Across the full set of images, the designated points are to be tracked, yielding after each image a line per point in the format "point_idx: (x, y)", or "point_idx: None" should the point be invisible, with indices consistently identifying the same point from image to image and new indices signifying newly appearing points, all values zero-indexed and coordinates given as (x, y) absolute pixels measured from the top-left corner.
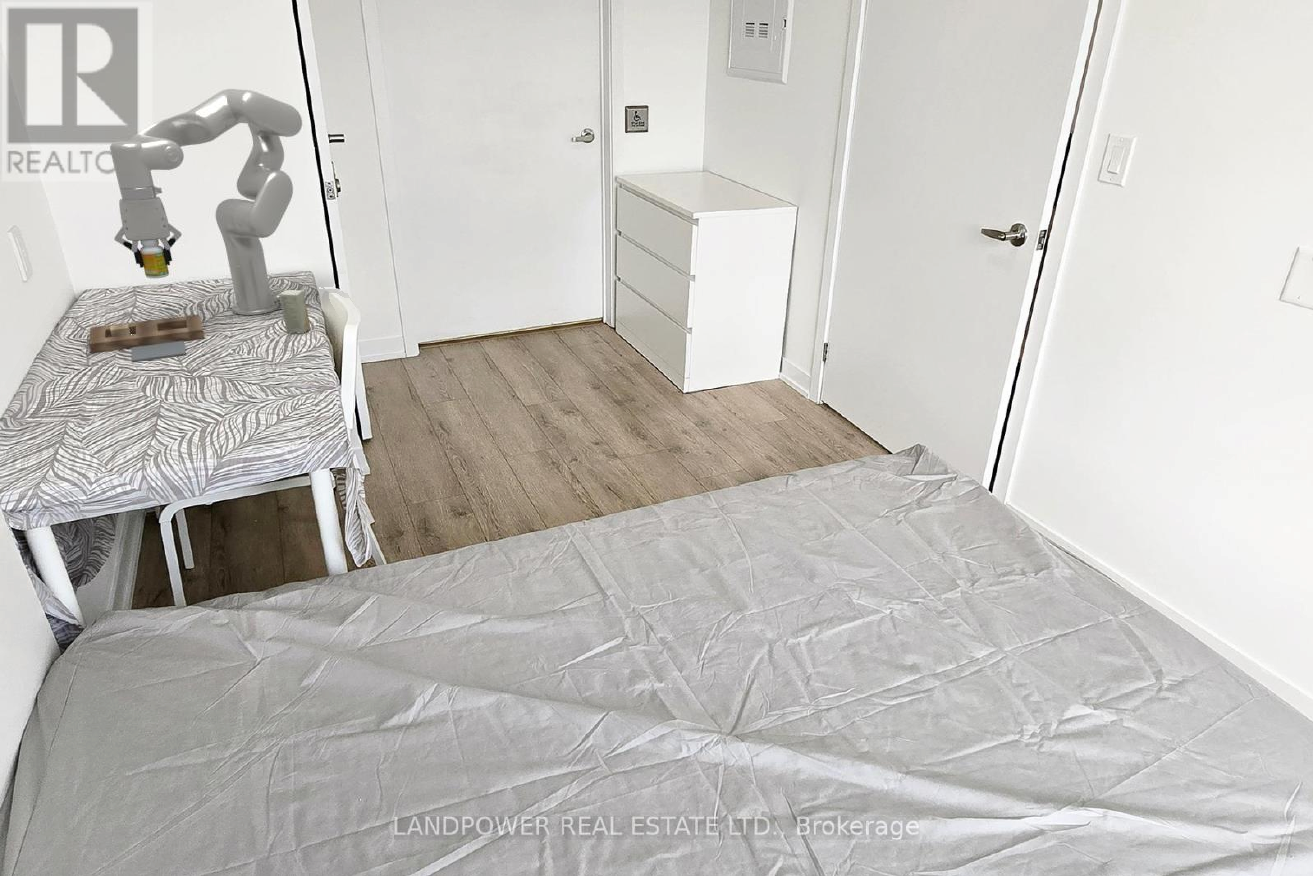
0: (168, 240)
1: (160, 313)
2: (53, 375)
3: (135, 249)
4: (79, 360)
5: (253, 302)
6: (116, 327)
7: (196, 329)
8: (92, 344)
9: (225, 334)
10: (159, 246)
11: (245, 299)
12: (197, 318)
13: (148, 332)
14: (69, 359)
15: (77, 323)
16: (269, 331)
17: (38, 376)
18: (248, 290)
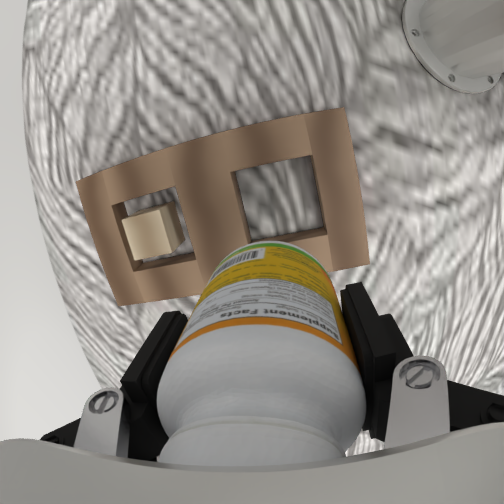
0: (453, 429)
1: (203, 6)
2: (121, 378)
3: (149, 458)
4: (124, 327)
5: (478, 74)
6: (141, 241)
7: (353, 258)
8: (124, 304)
9: (409, 233)
10: (340, 442)
11: (467, 65)
12: (345, 149)
13: (226, 255)
14: (105, 316)
15: (43, 83)
16: (489, 237)
17: (103, 374)
18: (494, 67)
